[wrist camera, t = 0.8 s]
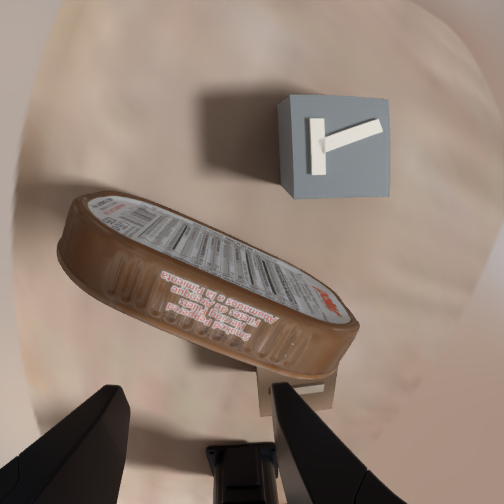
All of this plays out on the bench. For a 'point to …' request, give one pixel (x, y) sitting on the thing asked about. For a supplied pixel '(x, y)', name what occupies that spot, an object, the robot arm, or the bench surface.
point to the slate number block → (334, 146)
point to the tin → (204, 285)
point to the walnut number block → (311, 391)
